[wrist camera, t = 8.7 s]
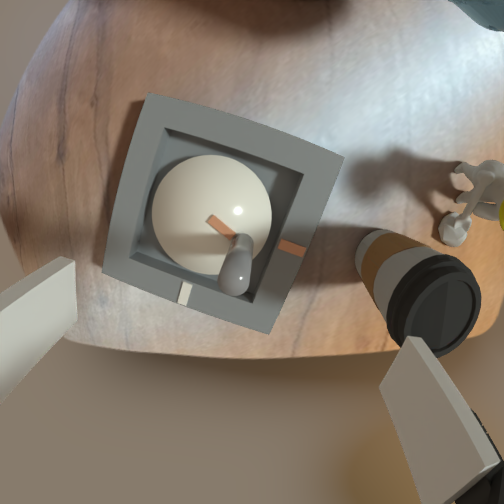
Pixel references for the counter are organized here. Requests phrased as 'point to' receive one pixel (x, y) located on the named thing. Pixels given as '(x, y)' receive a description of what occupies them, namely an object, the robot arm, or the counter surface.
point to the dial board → (250, 154)
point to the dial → (213, 218)
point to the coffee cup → (419, 290)
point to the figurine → (476, 201)
